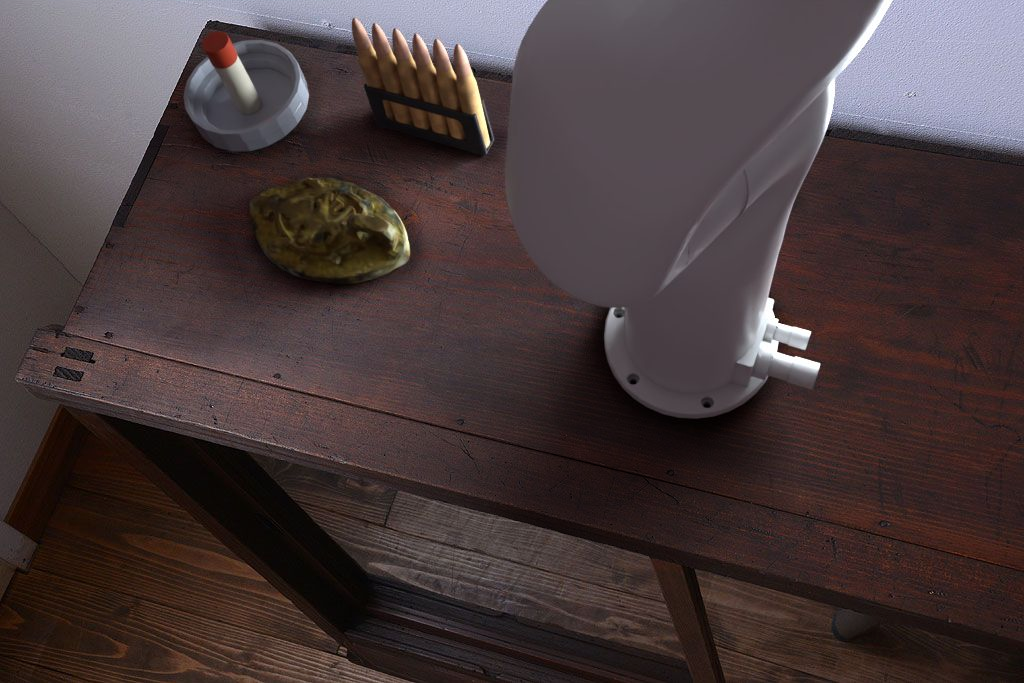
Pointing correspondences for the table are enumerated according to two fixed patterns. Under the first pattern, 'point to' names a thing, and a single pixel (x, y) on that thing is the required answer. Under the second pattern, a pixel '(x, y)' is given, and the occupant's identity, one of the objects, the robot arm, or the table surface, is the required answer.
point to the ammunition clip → (423, 90)
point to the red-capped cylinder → (231, 72)
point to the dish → (274, 85)
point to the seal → (329, 231)
